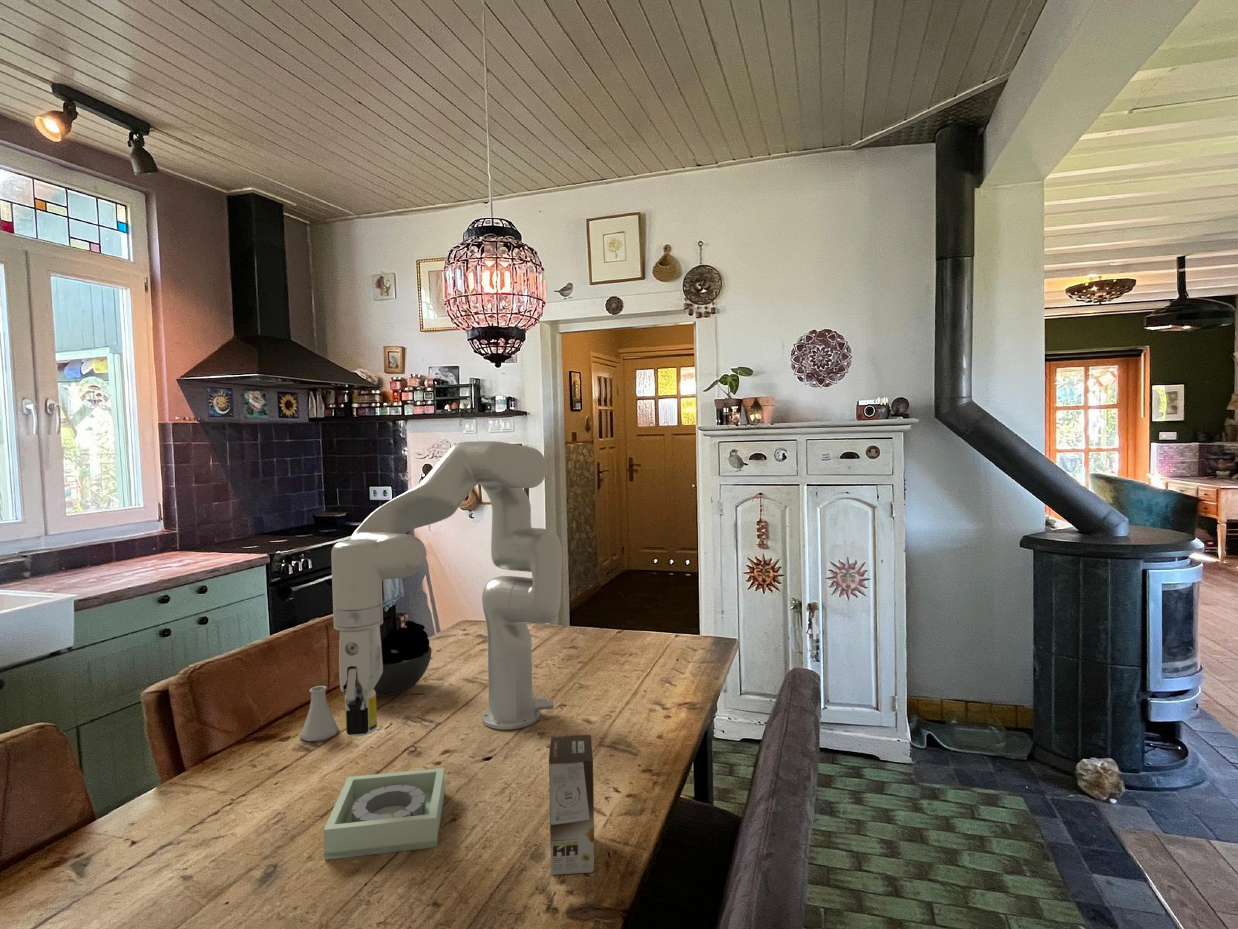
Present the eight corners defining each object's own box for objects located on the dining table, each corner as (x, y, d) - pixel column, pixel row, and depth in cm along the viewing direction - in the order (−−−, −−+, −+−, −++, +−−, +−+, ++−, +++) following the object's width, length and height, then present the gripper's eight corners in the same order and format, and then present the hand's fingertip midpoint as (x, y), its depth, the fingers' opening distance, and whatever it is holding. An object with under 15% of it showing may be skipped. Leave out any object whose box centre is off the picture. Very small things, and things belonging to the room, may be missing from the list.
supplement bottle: (370, 722, 114) (369, 673, 114) (381, 731, 110) (380, 680, 110) (341, 731, 111) (340, 680, 110) (352, 740, 107) (350, 688, 107)
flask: (324, 744, 138) (322, 695, 138) (292, 741, 140) (291, 693, 139) (345, 729, 145) (343, 683, 145) (315, 726, 147) (313, 681, 146)
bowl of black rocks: (335, 691, 168) (333, 616, 167) (414, 673, 180) (412, 603, 179) (362, 716, 152) (359, 633, 151) (445, 694, 164) (443, 618, 164)
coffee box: (595, 873, 95) (594, 761, 95) (550, 876, 95) (548, 764, 94) (592, 835, 104) (591, 733, 104) (551, 838, 104) (549, 735, 103)
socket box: (444, 793, 118) (444, 767, 118) (436, 847, 102) (435, 817, 102) (348, 803, 115) (347, 777, 115) (324, 860, 99) (323, 830, 99)
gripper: (371, 629, 102) (374, 747, 103) (391, 602, 119) (395, 704, 119) (318, 632, 101) (322, 751, 102) (347, 604, 118) (350, 707, 118)
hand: (361, 725), depth 110 cm, fingers closed on supplement bottle, 4 cm apart
